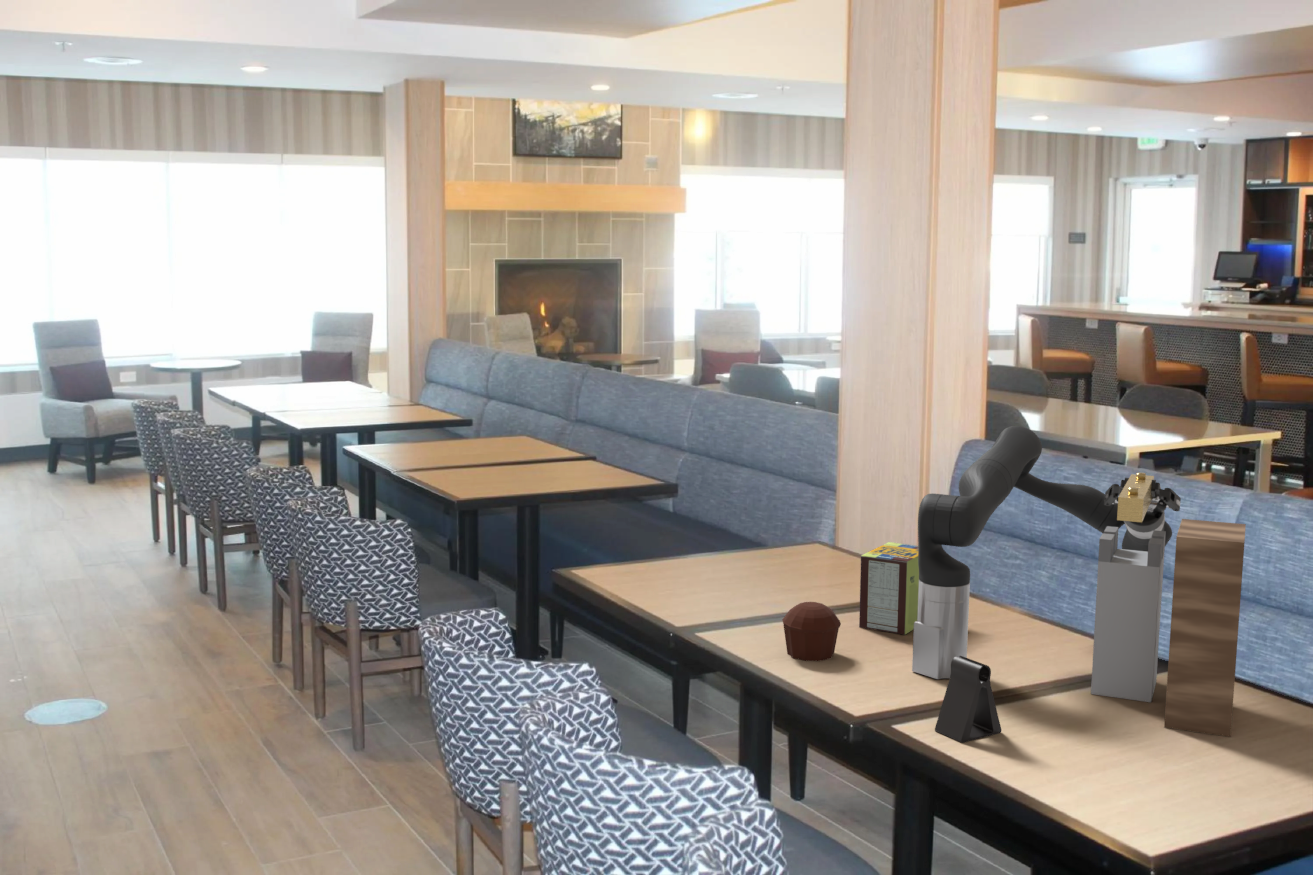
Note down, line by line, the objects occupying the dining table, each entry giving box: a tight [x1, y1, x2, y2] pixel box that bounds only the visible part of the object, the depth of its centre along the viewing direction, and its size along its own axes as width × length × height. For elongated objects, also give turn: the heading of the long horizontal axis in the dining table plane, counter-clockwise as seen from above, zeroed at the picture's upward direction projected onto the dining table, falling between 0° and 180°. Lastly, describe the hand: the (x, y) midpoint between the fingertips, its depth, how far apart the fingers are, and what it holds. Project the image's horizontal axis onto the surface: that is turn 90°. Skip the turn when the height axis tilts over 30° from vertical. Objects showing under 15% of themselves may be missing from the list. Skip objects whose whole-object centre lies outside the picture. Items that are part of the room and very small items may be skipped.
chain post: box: [1090, 526, 1166, 703], centre depth 231 cm, size 12×10×28 cm
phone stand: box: [934, 656, 1002, 744], centre depth 210 cm, size 9×6×12 cm, turn 121°
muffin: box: [781, 601, 842, 662], centre depth 251 cm, size 12×11×10 cm
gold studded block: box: [1117, 471, 1155, 522], centre depth 230 cm, size 24×4×5 cm, turn 155°
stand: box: [1164, 518, 1246, 738], centre depth 216 cm, size 16×10×32 cm, turn 155°
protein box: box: [858, 541, 919, 636], centre depth 272 cm, size 10×15×16 cm
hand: (1139, 483), depth 236 cm, fingers closed on gold studded block, 4 cm apart
